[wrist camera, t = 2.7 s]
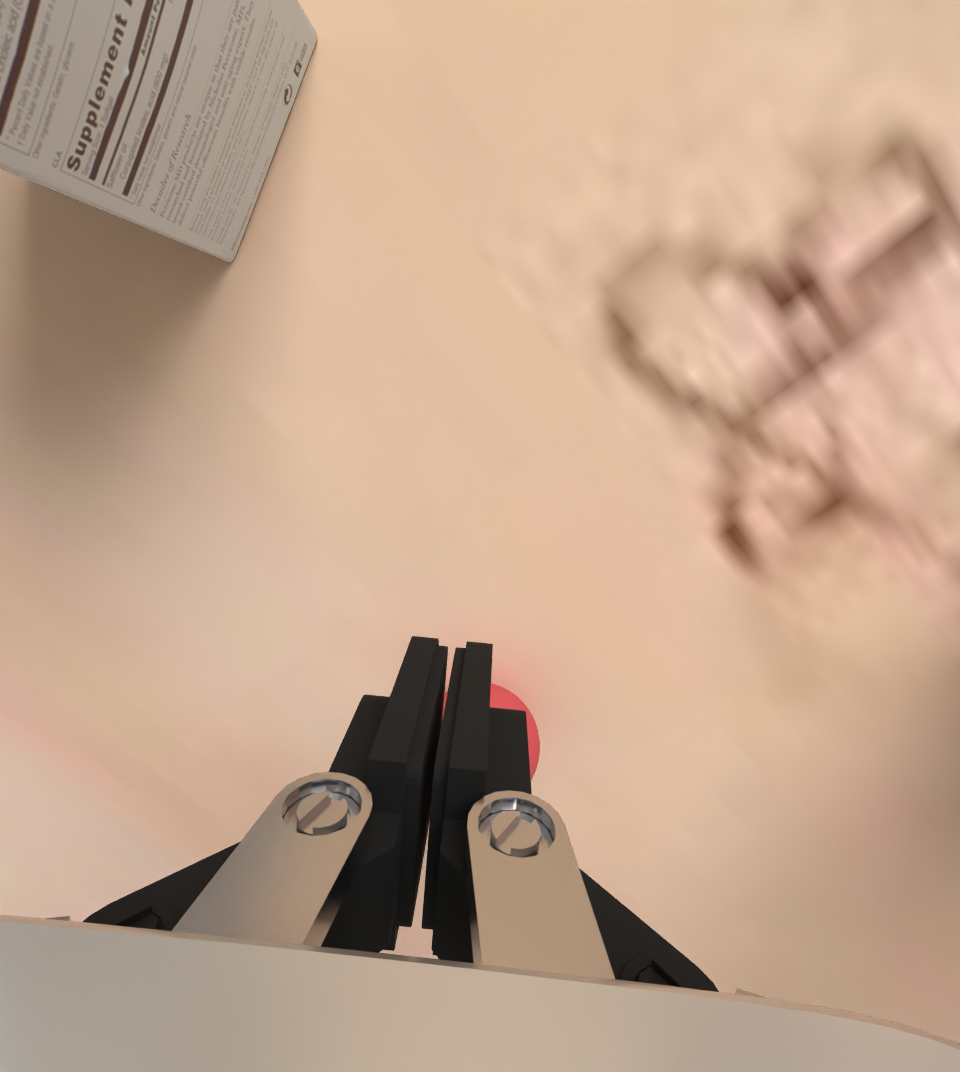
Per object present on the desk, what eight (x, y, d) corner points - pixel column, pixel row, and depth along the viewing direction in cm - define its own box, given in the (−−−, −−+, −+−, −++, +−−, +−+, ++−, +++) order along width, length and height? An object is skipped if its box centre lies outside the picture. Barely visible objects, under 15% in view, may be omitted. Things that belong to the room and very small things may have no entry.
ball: (556, 688, 28) (565, 760, 22) (509, 773, 29) (507, 860, 24) (453, 643, 27) (438, 706, 22) (411, 732, 29) (387, 811, 24)
